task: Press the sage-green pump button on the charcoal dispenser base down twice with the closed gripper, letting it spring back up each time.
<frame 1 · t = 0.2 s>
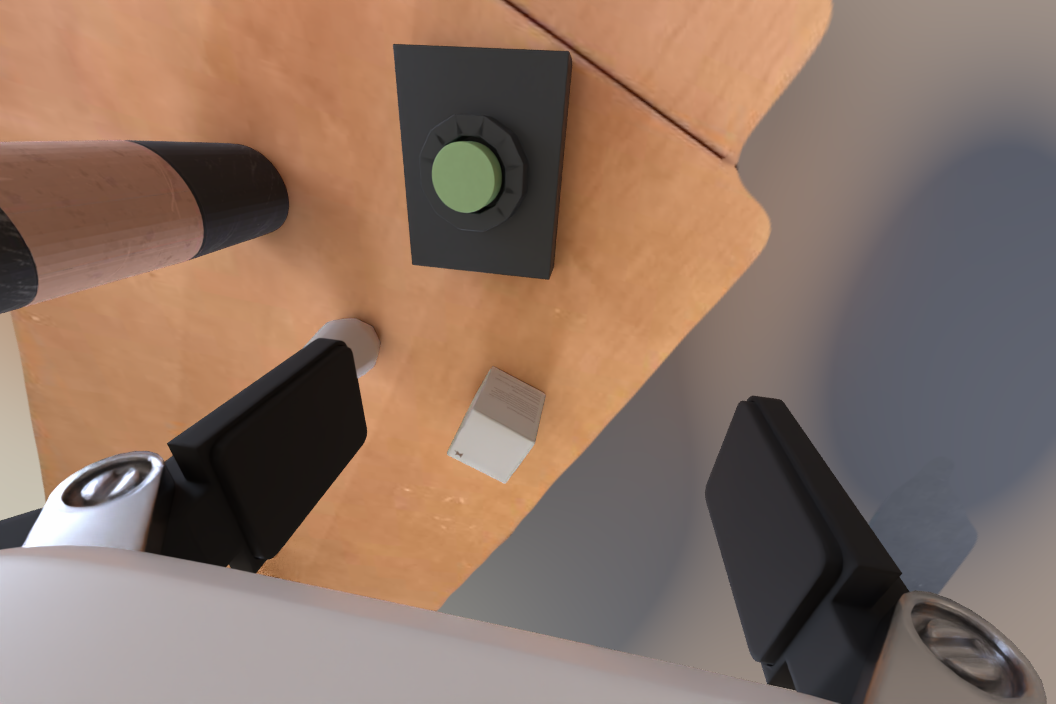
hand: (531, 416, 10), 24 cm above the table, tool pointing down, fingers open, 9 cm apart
salt shaker: (361, 336, 39), on the table
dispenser: (489, 170, 30), on the table
travel mug: (252, 190, 34), on the table
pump: (467, 177, 25), point 6 cm above the table, slide at 0.1 cm
product box: (507, 398, 40), on the table
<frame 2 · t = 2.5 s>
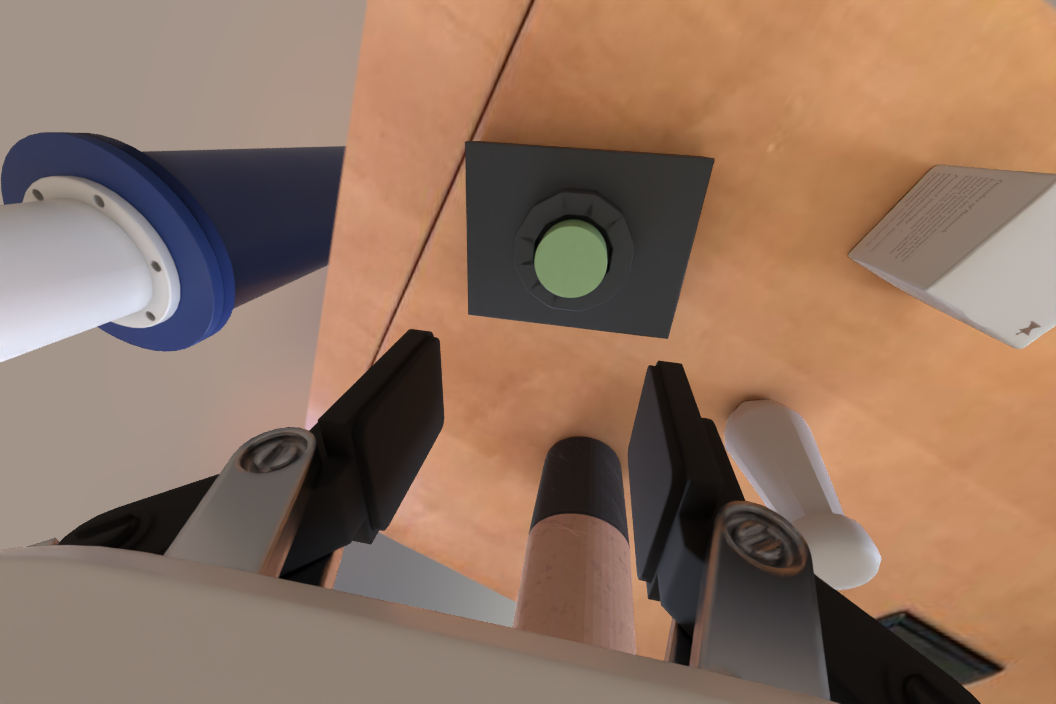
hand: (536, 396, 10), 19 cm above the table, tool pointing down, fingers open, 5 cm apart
salt shaker: (754, 417, 32), on the table
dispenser: (576, 237, 27), on the table
travel mug: (582, 464, 37), on the table
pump: (571, 258, 22), point 6 cm above the table, slide at 0.1 cm
product box: (923, 236, 24), on the table
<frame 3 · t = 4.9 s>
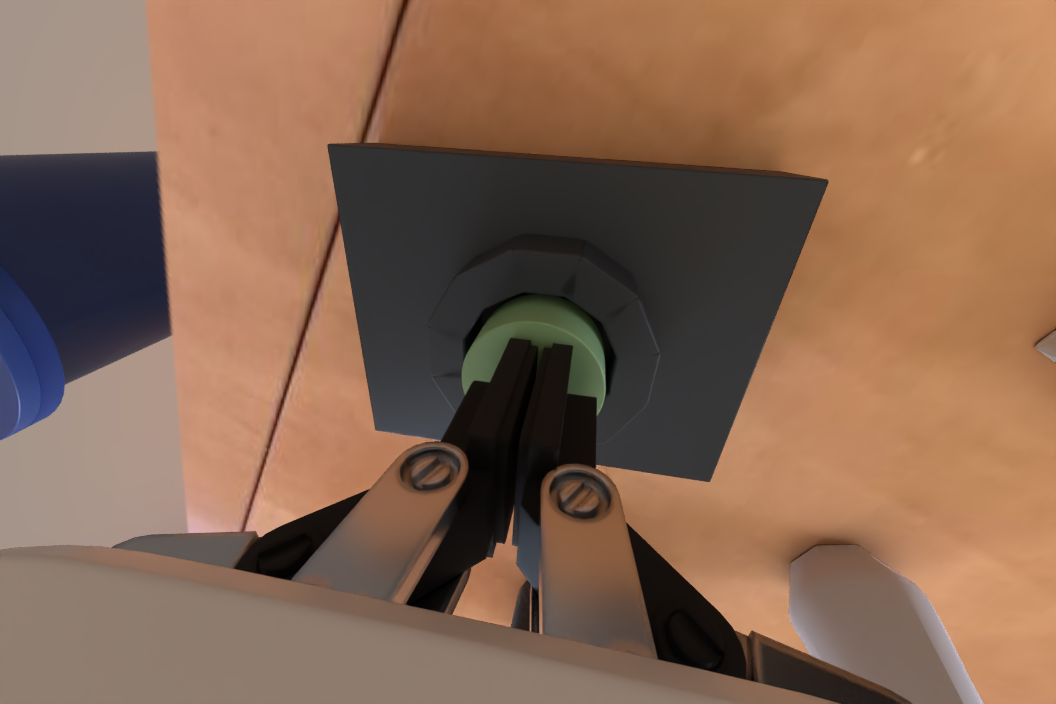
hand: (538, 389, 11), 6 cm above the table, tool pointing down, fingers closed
salt shaker: (830, 564, 21), on the table
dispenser: (553, 305, 16), on the table
travel mug: (570, 602, 26), on the table
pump: (536, 369, 12), point 5 cm above the table, slide at -0.4 cm, touching gripper
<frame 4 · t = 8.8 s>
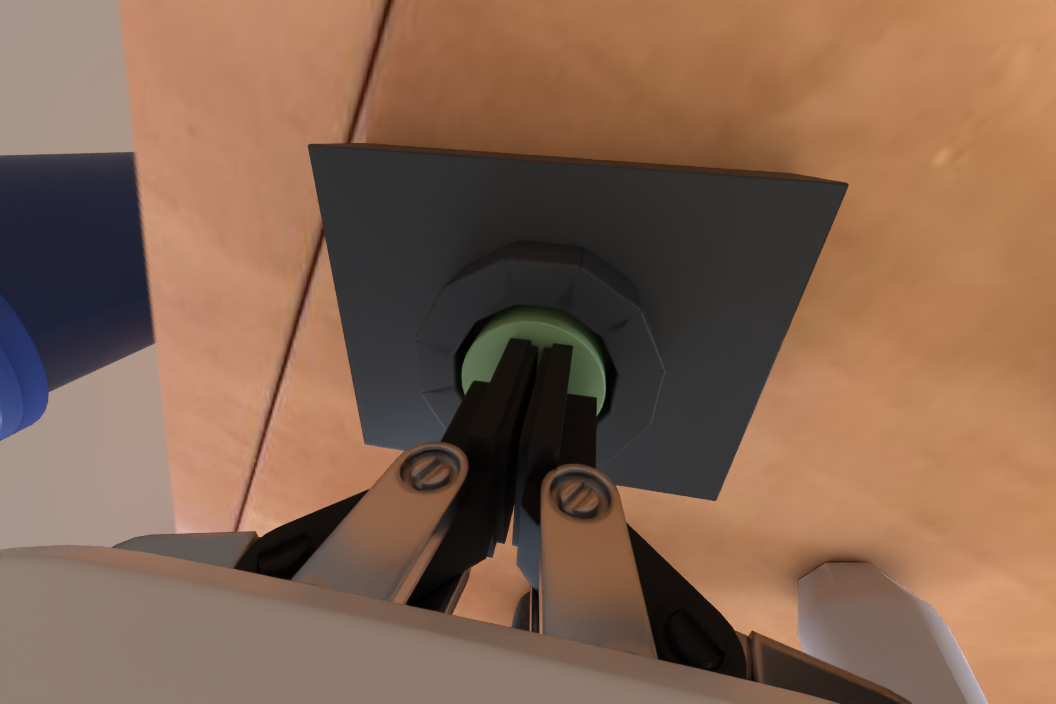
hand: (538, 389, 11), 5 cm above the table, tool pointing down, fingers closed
salt shaker: (840, 582, 20), on the table
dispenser: (551, 313, 15), on the table
travel mug: (569, 616, 25), on the table
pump: (536, 369, 12), point 4 cm above the table, slide at -1.3 cm, touching gripper
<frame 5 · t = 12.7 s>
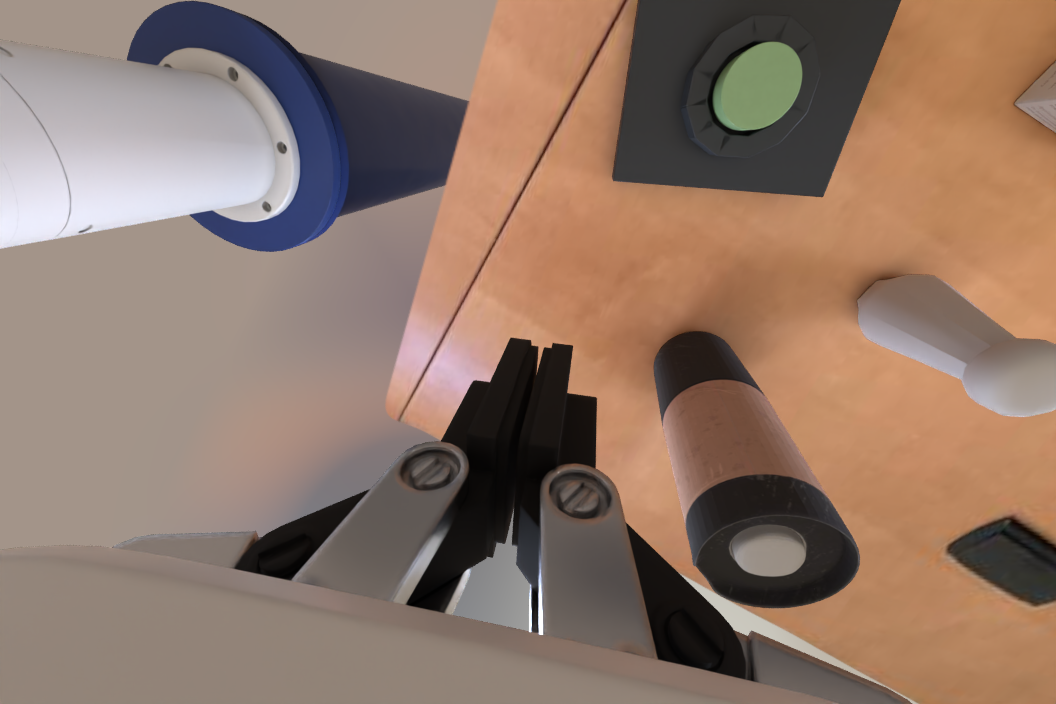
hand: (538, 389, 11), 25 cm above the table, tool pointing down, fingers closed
salt shaker: (884, 300, 32), on the table
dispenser: (727, 98, 27), on the table
travel mug: (692, 363, 37), on the table
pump: (754, 89, 22), point 6 cm above the table, slide at 0.1 cm
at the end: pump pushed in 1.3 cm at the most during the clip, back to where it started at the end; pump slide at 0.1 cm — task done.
